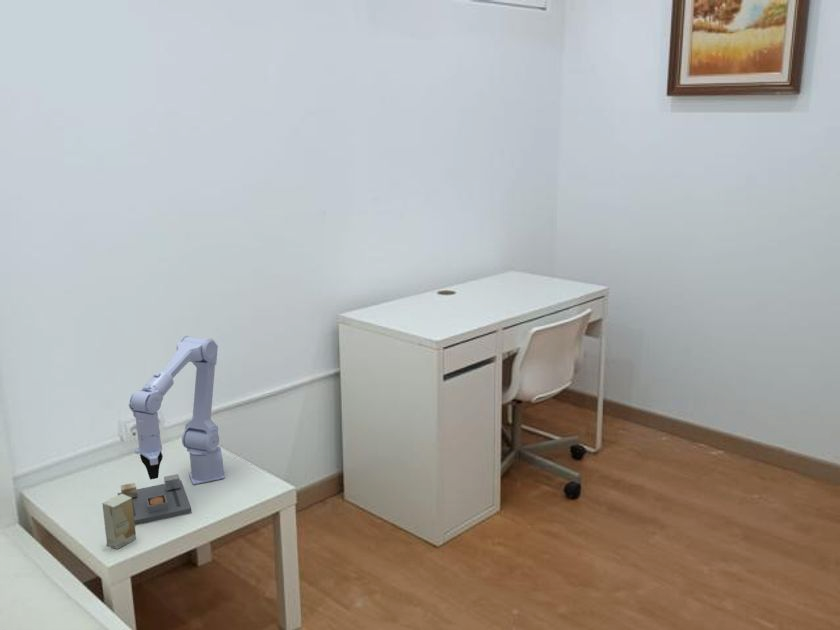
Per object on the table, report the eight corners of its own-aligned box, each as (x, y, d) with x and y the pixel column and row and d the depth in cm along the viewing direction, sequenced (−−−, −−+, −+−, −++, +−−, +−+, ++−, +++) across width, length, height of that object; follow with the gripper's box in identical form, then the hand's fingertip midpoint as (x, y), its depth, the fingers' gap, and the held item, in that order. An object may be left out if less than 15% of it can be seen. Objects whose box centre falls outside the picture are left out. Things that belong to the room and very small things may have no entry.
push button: (163, 501, 222) (162, 496, 222) (164, 507, 219) (164, 501, 218) (149, 503, 221) (149, 498, 220) (151, 509, 217) (150, 504, 217)
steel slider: (178, 483, 232) (177, 473, 231) (180, 487, 229) (179, 478, 228) (164, 485, 230) (163, 476, 229) (166, 490, 228) (165, 481, 227)
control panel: (181, 484, 235) (180, 474, 234) (191, 512, 219) (190, 501, 218) (118, 497, 228) (116, 487, 227) (123, 527, 212) (122, 516, 211)
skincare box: (117, 550, 202) (111, 507, 198) (106, 545, 204) (100, 503, 201) (137, 538, 207) (132, 496, 204) (127, 533, 209) (121, 492, 206)
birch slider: (136, 491, 227) (135, 482, 226) (137, 496, 224) (136, 487, 224) (121, 494, 225) (120, 485, 225) (122, 499, 223) (121, 490, 222)
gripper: (130, 425, 218) (135, 469, 222) (136, 446, 206) (141, 492, 210) (156, 421, 221) (161, 464, 225) (163, 441, 209) (168, 486, 212)
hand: (153, 477), depth 217 cm, fingers closed
